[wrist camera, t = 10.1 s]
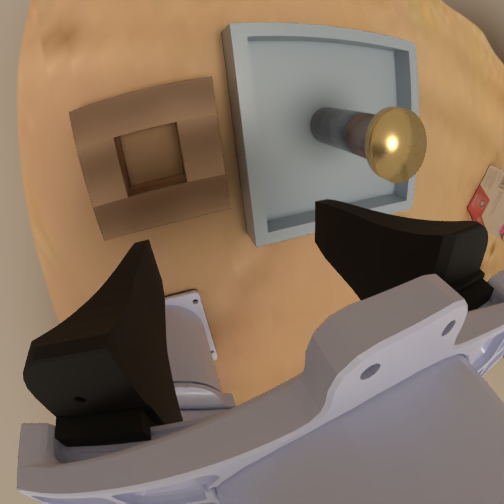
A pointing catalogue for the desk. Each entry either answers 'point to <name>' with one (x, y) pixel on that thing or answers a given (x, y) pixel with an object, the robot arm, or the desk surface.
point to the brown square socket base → (162, 190)
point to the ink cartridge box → (490, 202)
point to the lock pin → (375, 138)
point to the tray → (299, 117)
